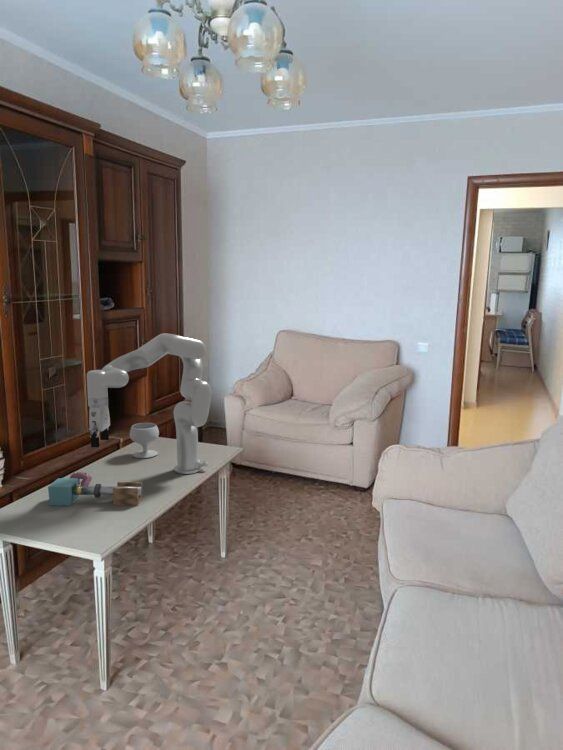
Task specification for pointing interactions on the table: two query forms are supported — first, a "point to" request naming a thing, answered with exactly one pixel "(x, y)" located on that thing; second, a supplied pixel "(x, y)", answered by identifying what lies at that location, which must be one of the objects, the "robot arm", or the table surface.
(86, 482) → the video game controller
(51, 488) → the socket block
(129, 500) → the wooden cradle block
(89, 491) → the rod
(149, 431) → the chalice
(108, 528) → the table surface
